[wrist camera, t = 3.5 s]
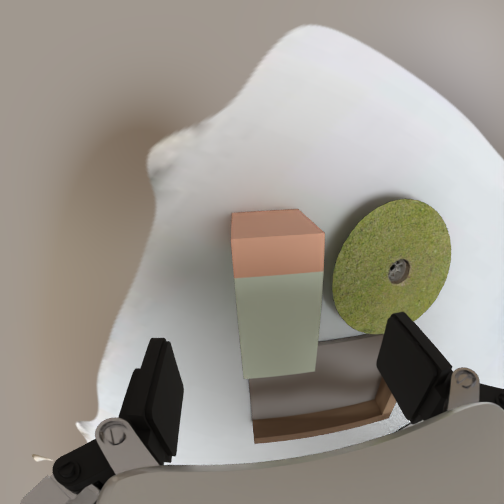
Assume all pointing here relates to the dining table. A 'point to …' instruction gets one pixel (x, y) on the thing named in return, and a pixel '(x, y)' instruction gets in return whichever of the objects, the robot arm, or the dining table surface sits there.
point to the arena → (323, 393)
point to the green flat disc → (391, 265)
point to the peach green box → (277, 290)
